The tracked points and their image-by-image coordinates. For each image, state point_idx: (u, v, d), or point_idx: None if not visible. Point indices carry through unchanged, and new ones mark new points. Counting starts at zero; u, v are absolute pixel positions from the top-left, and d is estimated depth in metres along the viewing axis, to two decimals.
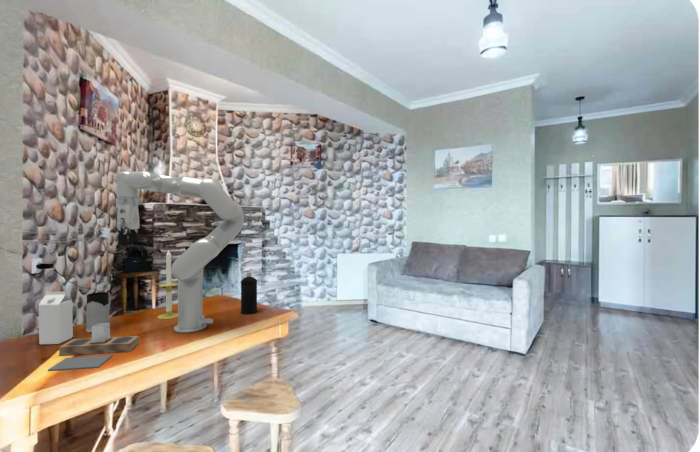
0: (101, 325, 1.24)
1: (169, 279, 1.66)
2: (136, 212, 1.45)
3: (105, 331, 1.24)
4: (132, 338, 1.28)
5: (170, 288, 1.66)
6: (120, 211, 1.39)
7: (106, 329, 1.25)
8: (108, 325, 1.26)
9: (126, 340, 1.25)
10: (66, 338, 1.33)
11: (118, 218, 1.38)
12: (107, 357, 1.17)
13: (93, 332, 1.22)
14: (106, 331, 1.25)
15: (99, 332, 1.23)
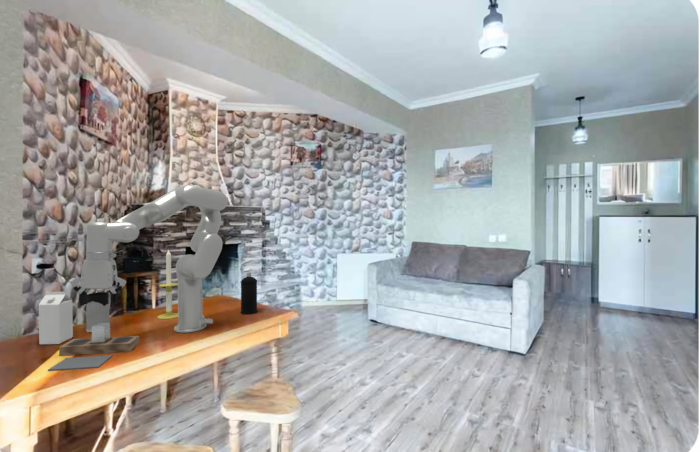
0: (101, 325, 1.24)
1: (169, 279, 1.66)
2: None
3: (105, 331, 1.24)
4: (132, 338, 1.28)
5: (170, 288, 1.66)
6: None
7: (106, 329, 1.25)
8: (108, 325, 1.26)
9: (126, 340, 1.25)
10: (66, 338, 1.33)
11: (112, 276, 1.23)
12: (107, 357, 1.17)
13: (93, 332, 1.22)
14: (106, 331, 1.25)
15: (99, 332, 1.23)
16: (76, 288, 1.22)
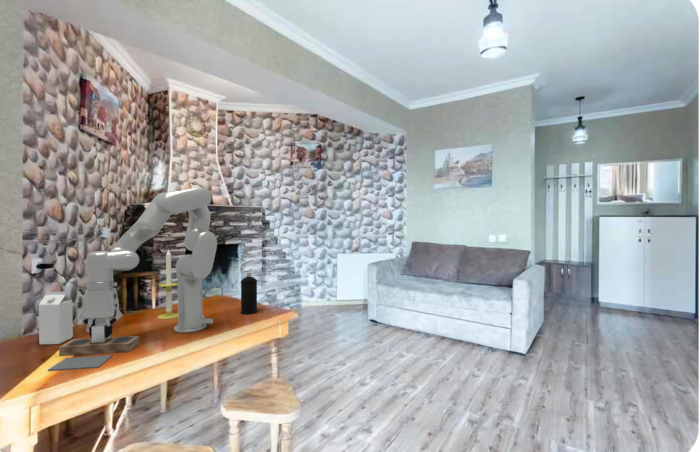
0: (101, 325, 1.24)
1: (169, 279, 1.66)
2: None
3: None
4: (132, 338, 1.28)
5: (170, 288, 1.66)
6: None
7: None
8: None
9: (126, 340, 1.25)
10: (66, 338, 1.33)
11: (113, 305, 1.24)
12: (107, 357, 1.17)
13: (93, 332, 1.22)
14: None
15: (99, 332, 1.23)
16: (86, 321, 1.23)
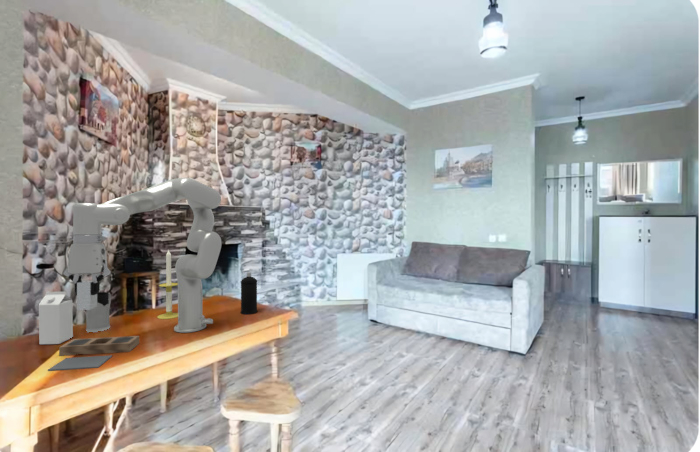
0: (87, 282, 1.16)
1: (169, 279, 1.66)
2: None
3: None
4: (132, 338, 1.28)
5: (170, 288, 1.66)
6: None
7: None
8: None
9: (126, 340, 1.25)
10: (66, 338, 1.33)
11: (100, 260, 1.16)
12: (107, 357, 1.17)
13: (79, 288, 1.14)
14: None
15: (85, 288, 1.15)
16: (71, 277, 1.15)
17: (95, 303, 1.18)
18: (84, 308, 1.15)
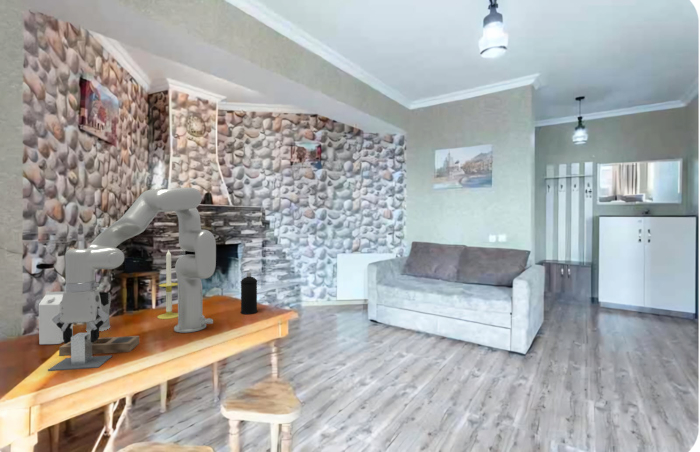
0: (82, 335, 1.12)
1: (169, 279, 1.66)
2: None
3: (85, 342, 1.12)
4: (132, 338, 1.28)
5: (170, 288, 1.66)
6: None
7: (87, 339, 1.13)
8: (90, 335, 1.14)
9: (126, 340, 1.25)
10: None
11: (95, 308, 1.12)
12: (107, 357, 1.17)
13: (73, 343, 1.11)
14: (87, 342, 1.13)
15: (79, 343, 1.11)
16: (59, 324, 1.11)
17: (90, 356, 1.14)
18: (78, 363, 1.11)
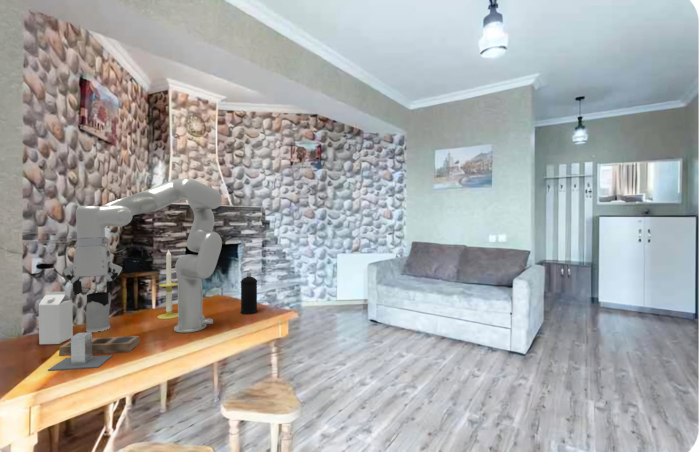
0: (82, 335, 1.12)
1: (169, 279, 1.66)
2: None
3: (85, 342, 1.12)
4: (132, 338, 1.28)
5: (170, 288, 1.66)
6: None
7: (87, 339, 1.13)
8: (90, 335, 1.14)
9: (126, 340, 1.25)
10: (66, 338, 1.33)
11: (106, 262, 1.16)
12: (107, 357, 1.17)
13: (73, 343, 1.11)
14: (87, 342, 1.13)
15: (79, 343, 1.11)
16: (69, 276, 1.15)
17: (90, 356, 1.14)
18: (78, 363, 1.11)
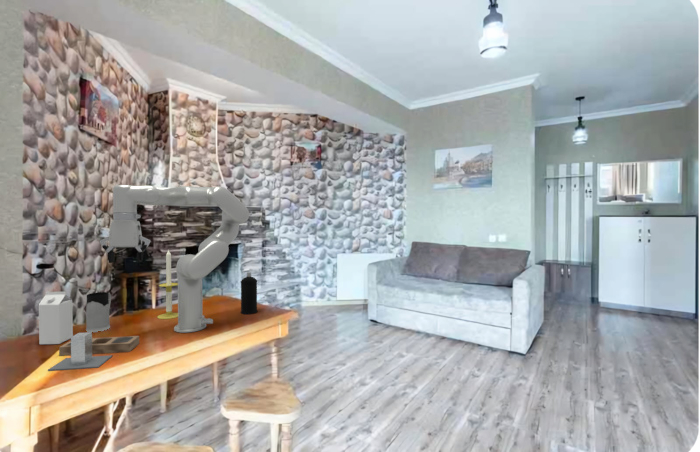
0: (82, 335, 1.12)
1: (169, 279, 1.66)
2: None
3: (85, 342, 1.12)
4: (132, 338, 1.28)
5: (170, 288, 1.66)
6: None
7: (87, 339, 1.13)
8: (90, 335, 1.14)
9: (126, 340, 1.25)
10: (66, 338, 1.33)
11: (137, 235, 1.32)
12: (107, 357, 1.17)
13: (73, 343, 1.11)
14: (87, 342, 1.13)
15: (79, 343, 1.11)
16: (105, 247, 1.31)
17: (90, 356, 1.14)
18: (78, 363, 1.11)
